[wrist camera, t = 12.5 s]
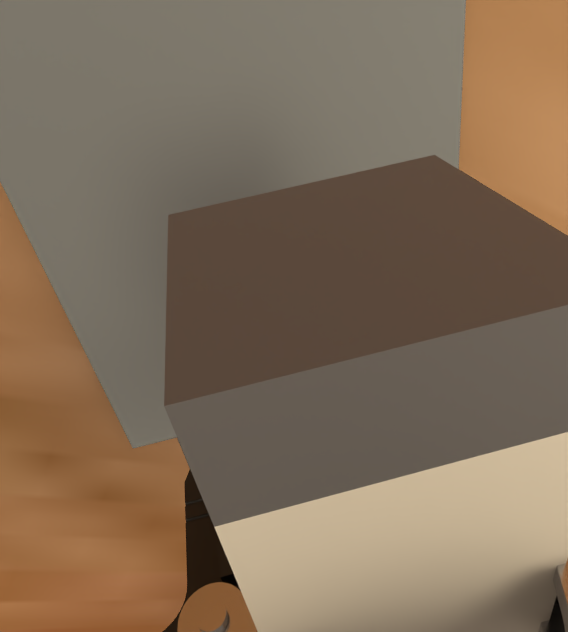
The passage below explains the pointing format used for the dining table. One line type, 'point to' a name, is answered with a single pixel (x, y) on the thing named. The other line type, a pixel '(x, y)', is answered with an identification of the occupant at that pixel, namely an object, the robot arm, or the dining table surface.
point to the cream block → (376, 399)
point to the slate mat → (198, 137)
